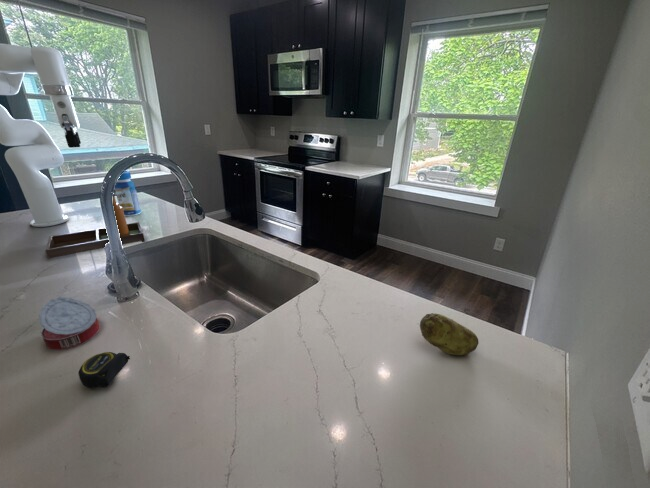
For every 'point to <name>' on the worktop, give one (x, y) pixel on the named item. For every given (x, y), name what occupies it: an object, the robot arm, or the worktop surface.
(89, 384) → the tape measure
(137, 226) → the tray
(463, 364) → the worktop surface
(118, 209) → the bottle
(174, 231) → the worktop surface
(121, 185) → the beverage bottle
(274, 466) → the worktop surface
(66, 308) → the canned food
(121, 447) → the worktop surface
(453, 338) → the potato
